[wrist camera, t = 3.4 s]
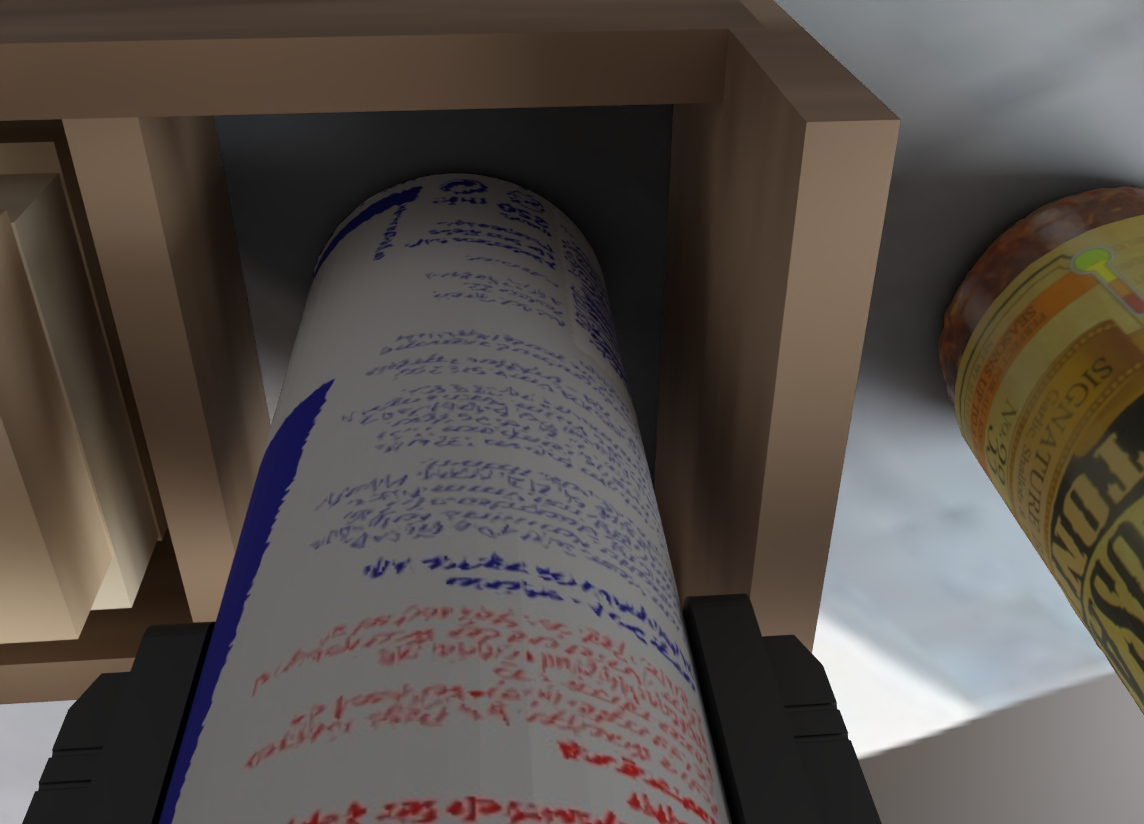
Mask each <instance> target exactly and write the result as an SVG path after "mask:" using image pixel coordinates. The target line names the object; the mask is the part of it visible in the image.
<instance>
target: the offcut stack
mask: <svg viewBox="0 0 1144 824" xmlns="http://www.w3.org/2000/svg"><path fill="white" fill-rule="evenodd" d="M167 526H168V524H167V520H166V516H165V512H164V508H163V505H162V501H161V497H160V493H159V489H158V486H157V482H156V478H155V474H154V470H153V466H152V463H151V459H150V455H149V451H148V447H147V443H146V440H145V436H144V432H143V428H142V424H141V420H140V417H139V413H138V409H137V405H136V401H135V397H134V394H133V390H132V386H131V382H130V378H129V374H128V371H127V367H126V363H125V359H124V355H123V352H122V348H121V344H120V340H119V336H118V332H117V329H116V325H115V321H114V317H113V313H112V309H111V306H110V302H109V298H108V294H107V290H106V286H105V283H104V279H103V275H102V271H101V267H100V263H99V260H98V256H97V252H96V248H95V244H94V240H93V237H92V233H91V229H90V225H89V221H88V218H87V214H86V210H85V206H84V202H83V198H82V195H81V191H80V187H79V183H78V179H77V175H76V172H75V168H74V164H73V160H72V156H71V152H70V149H69V145H68V141H67V137H66V133H65V129H64V126H63V122H62V119H50V120H10V121H0V644H4V643H21V642H37V641H54V640H71V639H78V638H79V636H80V633H81V631H82V629H83V626H84V624H85V622H86V619H87V617H88V615H89V612H90V610H101V609H118V608H132V605H133V603H134V600H135V598H136V595H137V592H138V590H139V587H140V584H141V582H142V579H143V576H144V574H145V571H146V568H147V566H148V563H149V561H150V558H151V555H152V553H153V550H154V547H155V545H156V542H157V541H162V540H163V537H164V534H165V532H166V529H167Z"/></svg>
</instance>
